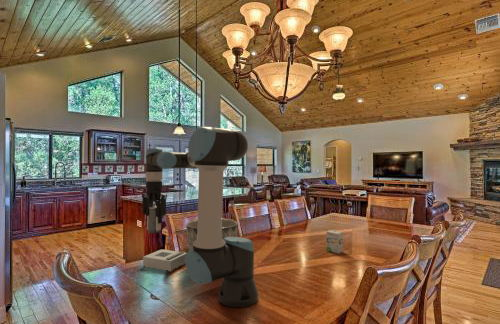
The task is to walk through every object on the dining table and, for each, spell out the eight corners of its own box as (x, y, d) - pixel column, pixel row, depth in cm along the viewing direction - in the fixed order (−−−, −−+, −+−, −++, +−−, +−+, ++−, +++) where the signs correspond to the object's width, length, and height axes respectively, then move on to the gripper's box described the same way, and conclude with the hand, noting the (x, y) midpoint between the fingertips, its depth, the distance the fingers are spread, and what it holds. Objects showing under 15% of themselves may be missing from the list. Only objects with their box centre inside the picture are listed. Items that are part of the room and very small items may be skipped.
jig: (170, 271, 138) (170, 259, 138) (143, 266, 144) (143, 255, 144) (187, 262, 151) (187, 251, 151) (161, 258, 157) (161, 248, 157)
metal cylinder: (154, 233, 133) (154, 207, 133) (146, 232, 135) (146, 207, 135) (161, 231, 138) (161, 206, 138) (153, 230, 139) (153, 205, 139)
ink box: (325, 250, 172) (325, 231, 172) (330, 249, 176) (330, 229, 176) (338, 253, 166) (338, 233, 166) (343, 252, 169) (343, 232, 170)
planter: (187, 278, 129) (187, 230, 130) (184, 260, 154) (185, 219, 155) (243, 273, 136) (243, 226, 136) (232, 256, 161) (232, 217, 162)
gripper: (174, 180, 137) (174, 229, 136) (145, 180, 143) (145, 226, 143) (164, 181, 130) (163, 233, 129) (134, 180, 136) (133, 229, 136)
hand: (154, 229), depth 136 cm, fingers closed on metal cylinder, 4 cm apart
